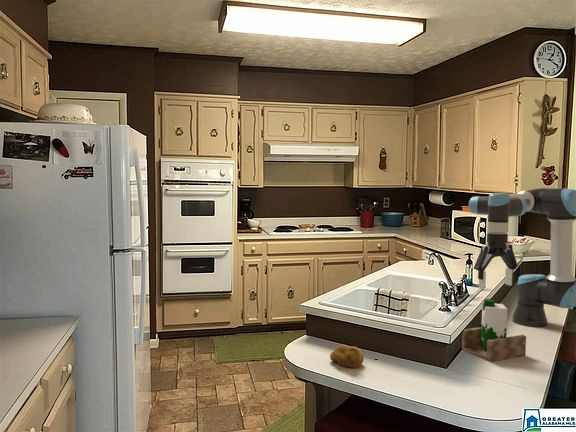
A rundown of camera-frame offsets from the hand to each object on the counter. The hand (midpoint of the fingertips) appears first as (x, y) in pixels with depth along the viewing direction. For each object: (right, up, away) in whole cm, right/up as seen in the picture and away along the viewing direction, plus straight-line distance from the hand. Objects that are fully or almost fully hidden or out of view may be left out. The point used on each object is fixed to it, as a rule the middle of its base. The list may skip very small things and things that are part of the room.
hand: (495, 286), depth 196 cm
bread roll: (-60, -27, -11) cm, 67 cm away
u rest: (0, -26, +2) cm, 27 cm away
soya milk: (0, -26, +2) cm, 26 cm away
